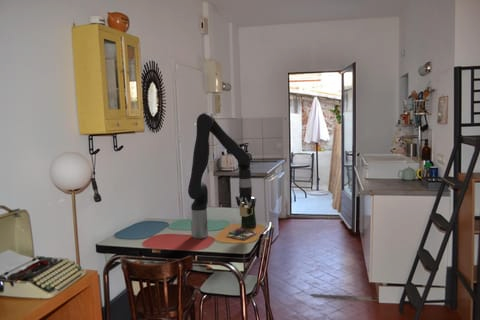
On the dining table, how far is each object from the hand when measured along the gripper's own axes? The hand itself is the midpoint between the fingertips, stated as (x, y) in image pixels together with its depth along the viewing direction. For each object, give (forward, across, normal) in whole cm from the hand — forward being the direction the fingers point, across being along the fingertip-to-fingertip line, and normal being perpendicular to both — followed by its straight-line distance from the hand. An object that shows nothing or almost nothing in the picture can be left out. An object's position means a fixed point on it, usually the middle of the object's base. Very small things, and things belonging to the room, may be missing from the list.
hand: (246, 213), depth 239 cm
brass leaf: (+1, 0, 0) cm, 1 cm away
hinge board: (+14, -4, 0) cm, 14 cm away
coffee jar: (+14, -11, +18) cm, 25 cm away
